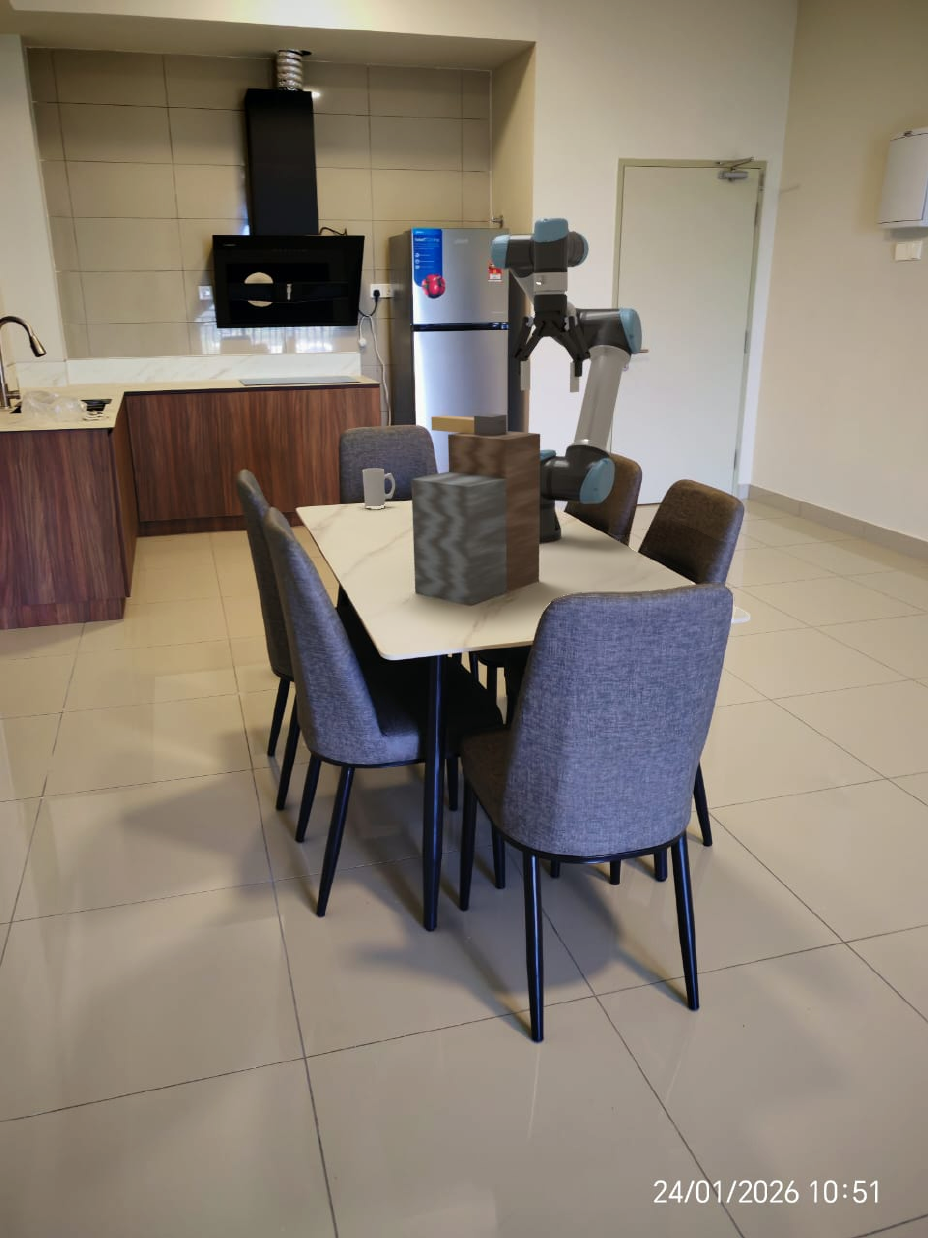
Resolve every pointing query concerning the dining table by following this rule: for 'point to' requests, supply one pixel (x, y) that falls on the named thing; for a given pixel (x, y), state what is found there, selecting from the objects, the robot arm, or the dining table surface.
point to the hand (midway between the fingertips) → (549, 391)
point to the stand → (479, 519)
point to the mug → (376, 486)
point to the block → (472, 424)
